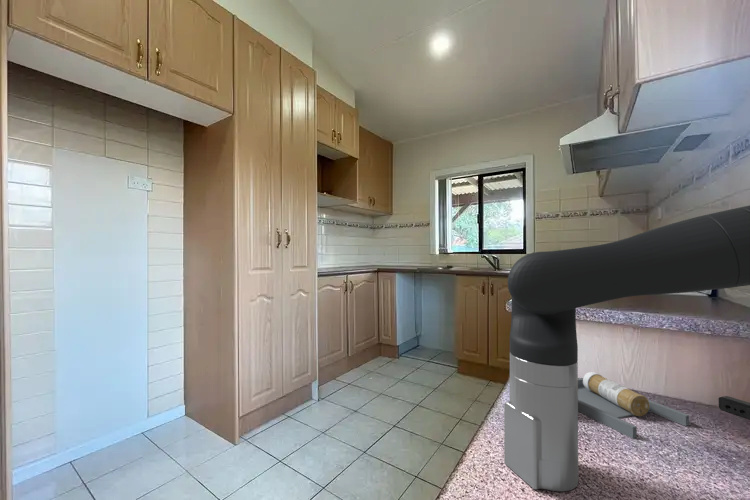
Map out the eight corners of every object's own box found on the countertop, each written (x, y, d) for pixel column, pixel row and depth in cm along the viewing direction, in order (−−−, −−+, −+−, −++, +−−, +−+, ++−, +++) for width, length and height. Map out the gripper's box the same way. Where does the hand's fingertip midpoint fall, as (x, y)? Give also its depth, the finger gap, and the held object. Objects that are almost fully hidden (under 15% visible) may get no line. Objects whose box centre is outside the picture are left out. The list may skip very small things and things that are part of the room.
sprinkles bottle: (654, 408, 65) (602, 382, 78) (642, 390, 65) (592, 367, 78) (637, 422, 64) (588, 393, 78) (625, 403, 64) (578, 378, 78)
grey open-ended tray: (632, 438, 57) (632, 427, 57) (539, 391, 77) (539, 383, 77) (689, 425, 62) (689, 415, 62) (587, 384, 82) (587, 376, 82)
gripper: (950, 425, 38) (743, 375, 54) (904, 444, 33) (695, 383, 50) (953, 489, 37) (744, 419, 54) (907, 517, 33) (696, 431, 50)
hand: (721, 402), depth 52 cm, fingers closed
